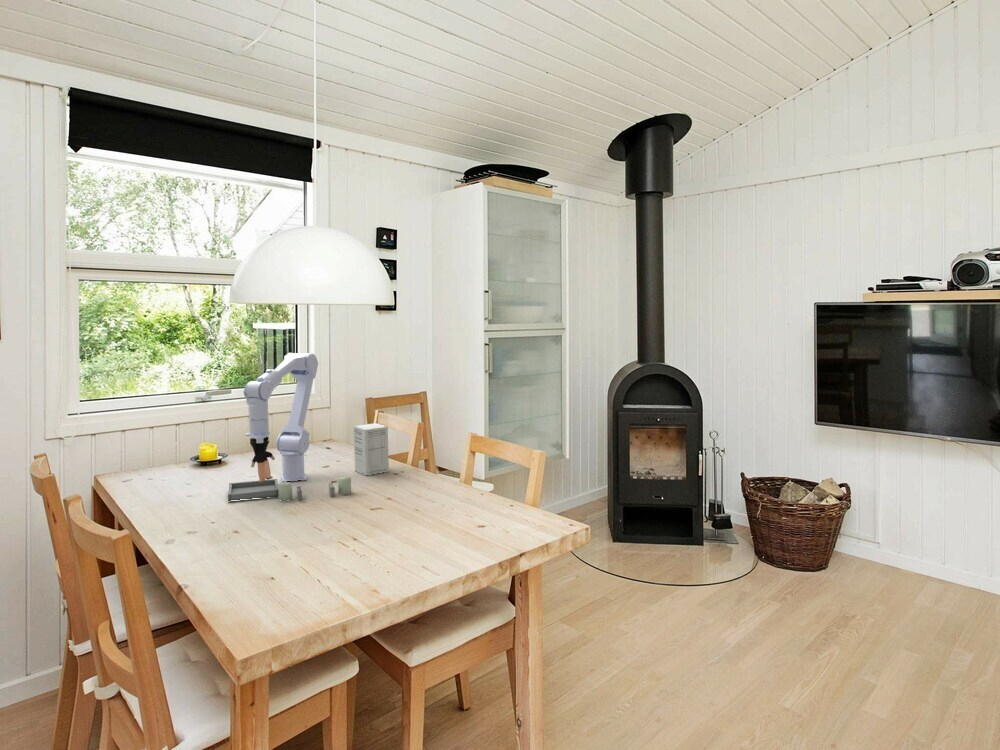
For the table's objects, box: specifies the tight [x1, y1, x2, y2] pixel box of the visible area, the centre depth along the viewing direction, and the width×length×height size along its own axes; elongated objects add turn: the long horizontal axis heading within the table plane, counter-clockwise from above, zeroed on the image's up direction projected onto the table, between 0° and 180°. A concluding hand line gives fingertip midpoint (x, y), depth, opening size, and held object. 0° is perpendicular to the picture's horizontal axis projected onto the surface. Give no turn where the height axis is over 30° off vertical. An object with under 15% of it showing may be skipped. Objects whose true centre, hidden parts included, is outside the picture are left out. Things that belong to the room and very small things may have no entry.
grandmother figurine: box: [250, 450, 276, 482], centre depth 196 cm, size 8×4×13 cm, turn 145°
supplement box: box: [353, 422, 390, 476], centre depth 224 cm, size 10×9×17 cm
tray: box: [227, 478, 279, 502], centre depth 196 cm, size 14×15×2 cm
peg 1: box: [337, 476, 352, 496], centre depth 197 cm, size 4×4×5 cm
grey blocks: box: [296, 482, 336, 501], centre depth 194 cm, size 5×11×3 cm, turn 112°
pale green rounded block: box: [278, 481, 293, 502], centre depth 190 cm, size 4×4×5 cm
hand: (260, 461), depth 196 cm, fingers closed on grandmother figurine, 3 cm apart
